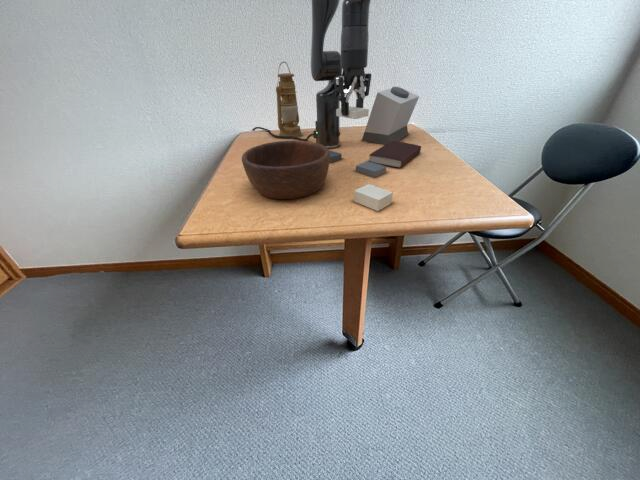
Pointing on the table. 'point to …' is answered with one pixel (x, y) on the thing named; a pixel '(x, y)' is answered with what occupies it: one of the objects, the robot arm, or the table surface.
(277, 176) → the wooden bowl
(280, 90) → the lantern
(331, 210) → the table surface
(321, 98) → the robot arm
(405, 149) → the book
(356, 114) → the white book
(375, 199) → the white rectangular block
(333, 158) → the blue-grey flat blocks
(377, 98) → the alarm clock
